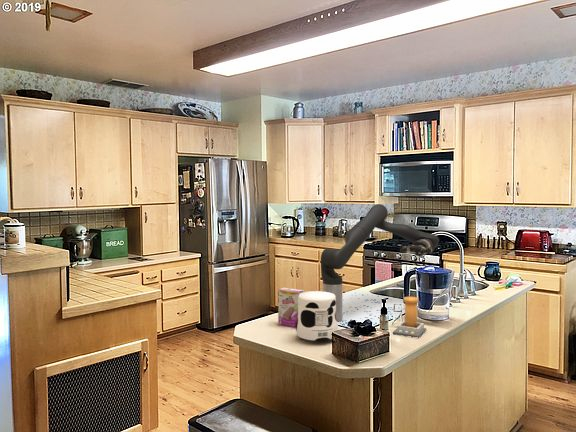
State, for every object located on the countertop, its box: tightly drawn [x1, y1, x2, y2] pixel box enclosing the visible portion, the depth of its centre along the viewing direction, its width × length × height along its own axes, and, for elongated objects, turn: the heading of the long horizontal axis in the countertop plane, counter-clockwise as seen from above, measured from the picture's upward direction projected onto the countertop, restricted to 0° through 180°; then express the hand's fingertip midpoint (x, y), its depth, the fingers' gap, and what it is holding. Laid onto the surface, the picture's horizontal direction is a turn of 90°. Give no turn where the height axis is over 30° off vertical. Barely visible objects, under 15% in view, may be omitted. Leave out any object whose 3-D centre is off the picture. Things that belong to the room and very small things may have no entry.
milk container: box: [295, 290, 339, 343], centre depth 193 cm, size 17×17×18 cm
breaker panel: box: [392, 320, 427, 339], centre depth 201 cm, size 11×12×3 cm
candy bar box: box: [277, 287, 305, 329], centre depth 211 cm, size 11×5×16 cm, turn 59°
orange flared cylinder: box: [403, 296, 419, 328], centre depth 202 cm, size 6×6×14 cm
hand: (411, 251), depth 218 cm, fingers open, 8 cm apart
